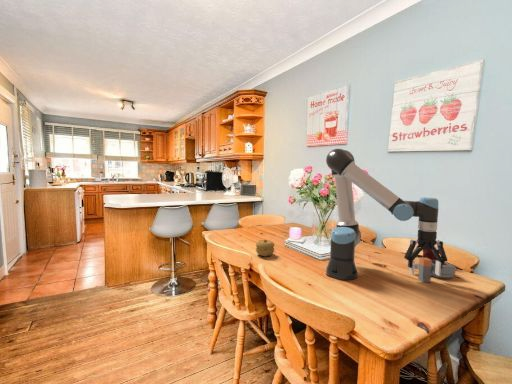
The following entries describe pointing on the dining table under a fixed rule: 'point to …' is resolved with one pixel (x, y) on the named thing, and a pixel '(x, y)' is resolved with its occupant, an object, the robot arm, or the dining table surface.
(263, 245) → the brown round lump
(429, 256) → the mug
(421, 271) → the grey orange upright block
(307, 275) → the dining table surface
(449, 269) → the grey machine vise
